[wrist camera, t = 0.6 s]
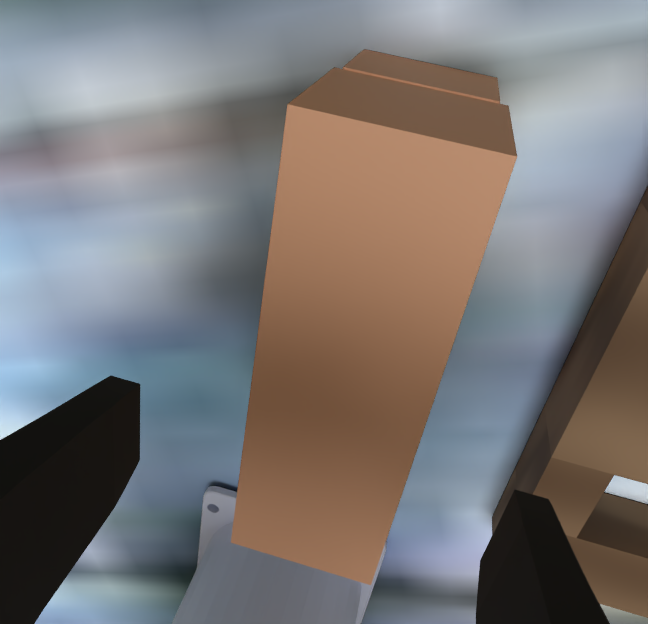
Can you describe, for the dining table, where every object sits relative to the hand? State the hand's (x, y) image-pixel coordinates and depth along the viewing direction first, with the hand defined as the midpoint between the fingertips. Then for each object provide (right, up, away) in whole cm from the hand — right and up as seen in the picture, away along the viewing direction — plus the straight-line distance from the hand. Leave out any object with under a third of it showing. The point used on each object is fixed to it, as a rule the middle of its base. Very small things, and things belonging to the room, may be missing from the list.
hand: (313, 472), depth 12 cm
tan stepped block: (+2, +5, +8) cm, 9 cm away
